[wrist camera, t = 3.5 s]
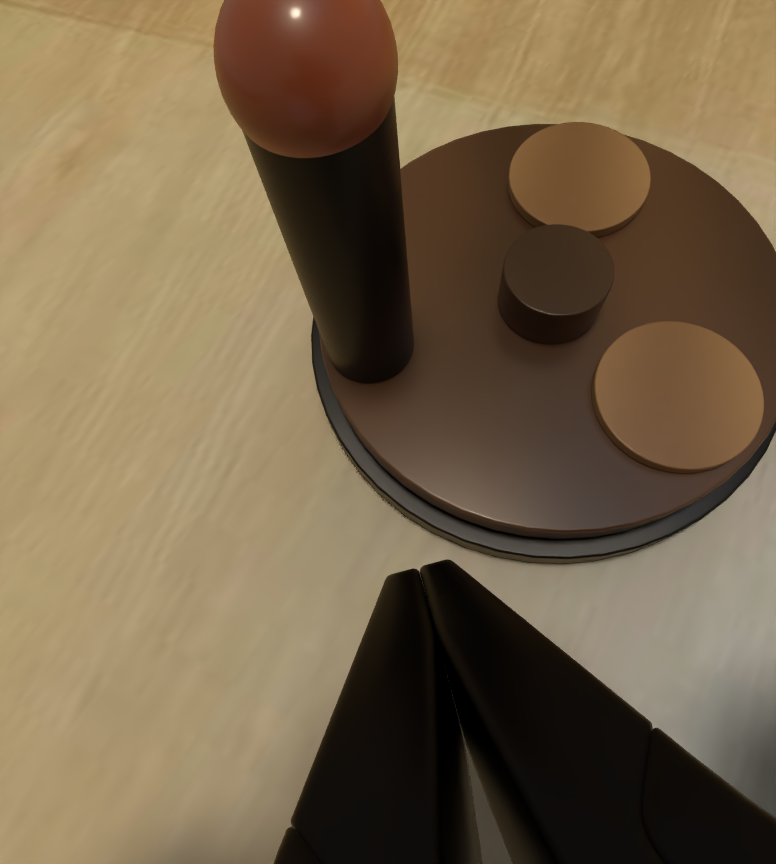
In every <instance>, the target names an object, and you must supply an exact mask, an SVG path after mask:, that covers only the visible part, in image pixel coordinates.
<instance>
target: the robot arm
mask: <svg viewBox="0 0 776 864" xmlns="http://www.w3.org/2000/svg"><path fill="white" fill-rule="evenodd" d="M420 575H421V576H420ZM421 579H422V580H421ZM422 582H423V583H422ZM423 586H424V587H423ZM424 590H425V591H424ZM428 605H429V606H428ZM444 665H445V666H444ZM447 676H448V677H447ZM448 680H449V681H448ZM450 687H451V688H450ZM451 691H452V692H451ZM452 695H453V696H452ZM453 698H454V700H453ZM454 702H455V703H454ZM455 706H456V707H455ZM456 710H457V711H456ZM457 713H458V715H457ZM458 717H459V718H458ZM459 721H460V722H459ZM460 724H461V726H460ZM461 728H462V730H461ZM462 731H463V734H462ZM463 735H464V738H465V741H466V745H467V748H468V750H469V753H470V756H471V759H472V761H473V764H474V767H475V769H476V772H477V774H478V777H479V779H480V782H481V785H482V787H483V790H484V792H485V795H486V797H487V800H488V802H489V805H490V807H491V810H492V812H493V815H494V817H495V820H496V823H497V825H498V828H499V830H500V833H501V835H502V838H503V840H504V843H505V845H506V848H507V850H508V853H509V855H510V858H511V860H512V863H513V864H776V818H775V817H774V816H772V815H771V814H769V813H768V812H767V811H765V810H764V809H762V808H761V807H759V806H758V805H757V804H755V803H754V802H752V801H751V800H749V799H748V798H747V797H746V796H744V795H743V794H742V793H740V792H739V791H738V790H736V789H735V788H734V787H733V786H731V785H730V784H729V783H727V782H726V781H725V780H723V779H722V778H721V777H720V776H718V775H717V774H716V773H714V772H713V771H712V770H710V769H709V768H708V767H707V766H705V765H704V764H703V763H701V762H700V761H699V760H697V759H696V758H695V757H694V756H692V755H691V754H690V753H689V752H687V751H686V750H685V749H684V748H683V747H681V746H680V745H679V744H678V743H676V742H675V741H674V740H673V739H672V738H670V737H669V736H668V735H667V734H665V733H664V732H663V731H662V730H661V729H659V728H654V729H653V728H652V723H651V722H650V721H649V720H648V719H646V718H645V717H644V716H643V715H641V714H640V713H639V712H638V711H637V710H635V709H634V708H633V707H632V706H630V705H629V704H628V703H627V702H625V701H624V700H623V699H622V698H621V697H619V696H618V695H617V694H616V693H614V692H613V691H612V690H611V689H609V688H608V687H607V686H606V685H605V684H603V683H602V682H601V681H600V680H598V679H597V678H596V677H595V676H593V675H592V674H591V673H590V672H588V671H587V670H586V669H585V668H584V667H582V666H581V665H580V664H579V663H577V662H576V661H575V660H574V659H572V658H571V657H570V656H569V655H568V654H566V653H565V652H564V651H563V650H561V649H560V648H559V647H558V646H556V645H555V644H554V643H553V642H552V641H550V640H549V639H548V638H547V637H545V636H544V635H543V634H542V633H540V632H539V631H538V630H537V629H535V628H534V627H533V626H532V625H531V624H529V623H528V622H527V621H526V620H524V619H523V618H522V617H521V616H519V615H518V614H517V613H516V612H515V611H513V610H512V609H511V608H510V607H508V606H507V605H506V604H505V603H503V602H502V601H501V600H500V599H499V598H497V597H496V596H495V595H494V594H492V593H491V592H490V591H489V590H487V589H486V588H485V587H484V586H483V585H481V584H480V583H479V582H478V581H476V580H475V579H474V578H473V577H471V576H470V575H469V574H468V573H466V572H465V571H464V570H463V569H462V568H460V567H459V566H458V565H457V564H455V563H454V562H453V561H451V560H443V561H439V562H435V563H432V564H428V565H424V566H422V567H421V569H420V573H419V571H418V570H417V569H410V570H406V571H402V572H398V573H395V574H391V575H389V576H388V577H387V578H386V580H385V582H384V585H383V587H382V590H381V592H380V595H379V597H378V600H377V602H376V605H375V608H374V610H373V613H372V615H371V618H370V620H369V623H368V625H367V628H366V630H365V633H364V635H363V638H362V641H361V643H360V646H359V648H358V651H357V653H356V656H355V658H354V661H353V663H352V666H351V668H350V671H349V674H348V676H347V679H346V681H345V684H344V686H343V689H342V691H341V694H340V696H339V699H338V701H337V704H336V707H335V709H334V712H333V714H332V717H331V719H330V722H329V724H328V727H327V729H326V732H325V735H324V737H323V740H322V742H321V745H320V747H319V750H318V752H317V755H316V757H315V760H314V762H313V765H312V768H311V770H310V773H309V775H308V778H307V780H306V783H305V785H304V788H303V790H302V793H301V795H300V798H299V801H298V803H297V806H296V808H295V811H294V813H293V816H292V818H291V824H292V827H290V828H288V829H287V830H286V832H285V835H284V838H283V840H282V843H281V845H280V848H279V850H278V853H277V856H276V858H275V861H274V863H273V864H483V862H482V855H481V849H480V842H479V835H478V828H477V821H476V814H475V807H474V800H473V793H472V786H471V779H470V772H469V765H468V759H467V754H466V748H465V743H464V739H463Z"/></svg>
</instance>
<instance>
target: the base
mask: <svg viewBox="0 0 776 864" xmlns="http://www.w3.org/2000/svg"><path fill="white" fill-rule="evenodd" d="M311 342H312V363H313V369H314V374H315V380H316V385H317V390H318V393H319V396H320V398H321V401H322V404H323V407H324V410H325V413H326V416H327V418H328V420H329V422H330V424H331V426H332V428H333V430H334V432H335V434H336V436H337V438H338V440H339V442H340V444H341V446H342V447H343V449H344V451H345V452H346V454H347V455H348V457H349V458H350V460H351V461H352V462H353V464H354V465H355V467H356V468H357V469H358V471H359V472H360V474H361V475H362V476H363V477H364V478H365V479H366V480H367V481H368V482H369V483H370V485H371V486H372V487H373V488H374V489H375V490H376V491H377V492H378V493H379V494H380V495H381V496H382V497H383V498H384V499H385V500H387V501H388V502H389V503H390V504H392V505H393V506H394V507H395V508H396V509H398V510H399V511H400V512H401V513H403V514H404V515H405V516H406V517H408V518H410V519H411V520H413V521H415V522H416V523H418V524H419V525H421V526H423V527H424V528H426V529H427V530H429V531H431V532H432V533H434V534H437V535H439V536H441V537H443V538H445V539H448V540H450V541H452V542H454V543H456V544H459V545H461V546H463V547H466V548H470V549H473V550H476V551H479V552H483V553H486V554H489V555H492V556H496V557H502V558H508V559H514V560H520V561H525V562H541V563H572V562H583V561H594V560H600V559H604V558H609V557H613V556H618V555H622V554H626V553H630V552H633V551H635V550H638V549H641V548H643V547H646V546H649V545H651V544H654V543H656V542H659V541H661V540H664V539H666V538H668V537H670V536H672V535H674V534H676V533H678V532H679V531H681V530H683V529H685V528H687V527H688V526H690V525H692V524H694V523H696V522H697V521H699V520H701V519H702V518H704V517H705V516H706V515H707V514H709V513H710V512H711V511H713V510H714V509H715V508H717V507H718V506H719V505H721V504H722V503H723V502H724V501H726V500H727V499H728V498H729V497H730V496H731V495H732V494H733V493H734V492H735V491H736V489H737V488H738V487H739V486H740V485H741V484H742V483H743V482H744V481H745V480H746V479H747V478H748V477H749V476H750V474H751V473H752V471H753V470H754V468H755V467H756V465H757V464H758V462H759V461H760V460H761V458H762V457H763V455H764V454H765V452H766V451H767V449H768V446H769V444H770V442H771V440H772V438H773V436H774V434H775V432H776V422H775V423H774V425H773V427H772V429H771V431H770V433H769V434H768V436H767V437H766V439H765V440H764V441H763V442H762V444H761V445H760V446H759V448H758V449H757V450H756V451H755V453H754V454H753V455H752V457H751V458H750V459H749V460H748V461H747V462H746V463H745V464H744V465H743V466H742V467H741V468H740V469H739V470H737V471H736V472H735V473H734V474H733V475H732V476H731V477H730V478H729V479H728V480H727V481H726V482H724V483H723V484H721V485H720V486H718V487H717V488H715V489H714V490H712V491H711V492H710V493H708V494H707V495H705V496H704V497H702V498H701V499H699V500H698V501H696V502H694V503H692V504H690V505H688V506H687V507H685V508H683V509H681V510H678V511H676V512H674V513H672V514H670V515H668V516H666V517H664V518H662V519H660V520H658V521H655V522H652V523H649V524H646V525H643V526H640V527H637V528H634V529H631V530H628V531H624V532H618V533H613V534H607V535H602V536H596V537H586V538H566V539H554V538H542V537H529V536H522V535H517V534H512V533H507V532H502V531H498V530H493V529H490V528H487V527H484V526H481V525H478V524H475V523H472V522H469V521H466V520H463V519H461V518H458V517H456V516H454V515H452V514H450V513H448V512H446V511H444V510H442V509H440V508H438V507H436V506H434V505H432V504H430V503H429V502H427V501H426V500H424V499H423V498H421V497H420V496H418V495H417V494H415V493H414V492H412V491H411V490H409V489H408V488H406V487H405V486H404V485H403V484H401V483H400V482H399V481H398V480H397V479H396V478H395V477H393V476H392V475H391V474H390V473H389V472H388V471H387V470H385V469H384V468H383V467H382V466H381V465H380V464H379V463H378V461H377V460H376V459H375V458H374V457H373V456H372V454H371V453H370V452H369V451H368V450H367V449H366V448H365V446H364V445H363V444H362V443H361V441H360V440H359V438H358V437H357V435H356V433H355V432H354V430H353V429H352V427H351V426H350V424H349V423H348V421H347V419H346V417H345V415H344V413H343V411H342V409H341V407H340V404H339V402H338V400H337V398H336V396H335V394H334V391H333V389H332V386H331V384H330V380H329V377H328V374H327V370H326V367H325V364H324V360H323V356H322V349H321V342H320V335H319V329H318V327H317V324H316V322H315V319H314V316H313V325H312V334H311Z"/></svg>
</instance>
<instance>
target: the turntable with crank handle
mask: <svg viewBox="0 0 776 864" xmlns="http://www.w3.org/2000/svg"><path fill="white" fill-rule="evenodd" d="M214 64H215V71H216V76H217V80H218V84H219V87H220V90H221V94H222V97H223V99H224V101H225V103H226V105H227V107H228V109H229V111H230V113H231V115H232V116H233V118H234V119H235V121H236V122H237V124H238V125H239V127H240V128H241V129H242V131H243V133H244V136H245V139H246V141H247V144H248V146H249V149H250V152H251V154H252V157H253V159H254V162H255V165H256V167H257V170H258V173H259V175H260V178H261V180H262V183H263V186H264V188H265V191H266V193H267V196H268V199H269V201H270V204H271V207H272V209H273V212H274V214H275V217H276V220H277V222H278V225H279V227H280V230H281V233H282V235H283V238H284V241H285V243H286V246H287V248H288V251H289V254H290V256H291V259H292V261H293V264H294V267H295V269H296V272H297V275H298V277H299V280H300V282H301V285H302V288H303V290H304V293H305V295H306V298H307V301H308V303H309V306H310V309H311V311H312V314H313V316H314V319H315V322H316V324H317V327H318V329H319V335H320V342H321V349H322V356H323V360H324V364H325V367H326V370H327V374H328V377H329V380H330V384H331V386H332V389H333V391H334V394H335V396H336V398H337V400H338V402H339V404H340V407H341V409H342V411H343V413H344V415H345V417H346V419H347V421H348V423H349V424H350V426H351V427H352V429H353V430H354V432H355V433H356V435H357V437H358V438H359V440H360V441H361V443H362V444H363V445H364V446H365V448H366V449H367V450H368V451H369V452H370V453H371V454H372V456H373V457H374V458H375V459H376V460H377V461H378V463H379V464H380V465H381V466H382V467H383V468H384V469H385V470H387V471H388V472H389V473H390V474H391V475H392V476H393V477H395V478H396V479H397V480H398V481H399V482H400V483H401V484H403V485H404V486H405V487H406V488H408V489H409V490H411V491H412V492H414V493H415V494H417V495H418V496H420V497H421V498H423V499H424V500H426V501H427V502H429V503H430V504H432V505H434V506H436V507H438V508H440V509H442V510H444V511H446V512H448V513H450V514H452V515H454V516H456V517H458V518H461V519H463V520H466V521H469V522H472V523H475V524H478V525H481V526H484V527H487V528H490V529H493V530H498V531H502V532H507V533H512V534H517V535H522V536H529V537H542V538H554V539H566V538H586V537H596V536H602V535H607V534H613V533H618V532H624V531H628V530H631V529H634V528H637V527H640V526H643V525H646V524H649V523H652V522H655V521H658V520H660V519H662V518H664V517H666V516H668V515H670V514H672V513H674V512H676V511H678V510H681V509H683V508H685V507H687V506H688V505H690V504H692V503H694V502H696V501H698V500H699V499H701V498H702V497H704V496H705V495H707V494H708V493H710V492H711V491H712V490H714V489H715V488H717V487H718V486H720V485H721V484H723V483H724V482H726V481H727V480H728V479H729V478H730V477H731V476H732V475H733V474H734V473H735V472H736V471H737V470H739V469H740V468H741V467H742V466H743V465H744V464H745V463H746V462H747V461H748V460H749V459H750V458H751V457H752V455H753V454H754V453H755V451H756V450H757V449H758V448H759V446H760V445H761V444H762V442H763V441H764V440H765V439H766V437H767V436H768V434H769V433H770V431H771V429H772V427H773V425H774V423H775V422H776V252H775V250H774V248H773V245H772V244H771V242H770V241H769V239H768V238H767V236H766V235H765V233H764V232H763V230H762V229H761V227H760V226H759V224H758V223H757V221H756V220H755V219H754V218H753V217H752V216H751V215H750V213H749V212H748V211H747V210H746V209H745V208H744V207H743V205H742V204H741V203H740V202H739V201H738V200H737V199H736V198H735V197H734V196H733V195H732V194H730V193H729V192H728V191H727V190H726V189H725V188H724V187H723V186H722V185H720V184H719V183H718V182H717V181H716V180H714V179H713V178H711V177H710V176H709V175H707V174H706V173H704V172H703V171H701V170H700V169H699V168H697V167H696V166H694V165H693V164H691V163H689V162H687V161H685V160H684V159H682V158H680V157H678V156H676V155H675V154H673V153H671V152H669V151H667V150H664V149H662V148H660V147H657V146H655V145H653V144H650V143H648V142H645V141H643V140H640V139H636V138H633V137H630V136H627V135H623V134H621V133H619V132H618V131H616V130H613V129H611V128H609V127H605V126H602V125H598V124H593V123H585V122H570V123H562V124H531V125H520V126H510V127H504V128H499V129H493V130H488V131H483V132H479V133H476V134H473V135H470V136H466V137H463V138H460V139H456V140H454V141H452V142H449V143H447V144H445V145H442V146H440V147H438V148H435V149H433V150H431V151H429V152H427V153H426V154H424V155H422V156H420V157H418V158H417V159H415V160H413V161H411V162H410V163H408V164H407V165H405V166H404V167H403V168H401V169H400V160H399V148H398V135H397V123H396V110H395V98H394V94H395V91H396V84H397V76H398V54H397V46H396V40H395V36H394V32H393V29H392V25H391V22H390V20H389V17H388V15H387V13H386V11H385V8H384V6H383V4H382V2H381V1H380V0H224V2H223V4H222V6H221V9H220V13H219V16H218V20H217V23H216V28H215V36H214Z"/></svg>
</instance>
